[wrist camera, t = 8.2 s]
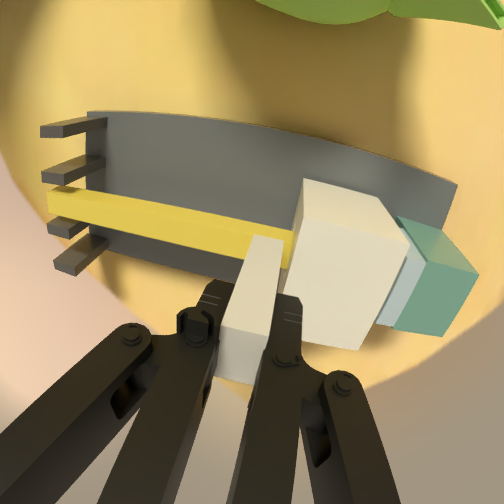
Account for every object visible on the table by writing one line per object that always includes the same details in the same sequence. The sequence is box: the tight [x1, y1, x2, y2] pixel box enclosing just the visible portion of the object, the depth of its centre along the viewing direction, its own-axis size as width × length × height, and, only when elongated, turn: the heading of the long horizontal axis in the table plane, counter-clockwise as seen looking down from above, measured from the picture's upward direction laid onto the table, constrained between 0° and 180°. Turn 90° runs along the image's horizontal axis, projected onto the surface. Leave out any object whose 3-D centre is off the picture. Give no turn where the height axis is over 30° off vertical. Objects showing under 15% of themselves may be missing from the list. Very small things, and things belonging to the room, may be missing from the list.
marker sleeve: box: [278, 178, 410, 351], centre depth 16 cm, size 5×7×7 cm
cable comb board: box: [40, 111, 479, 337], centre depth 18 cm, size 28×12×7 cm, turn 80°
